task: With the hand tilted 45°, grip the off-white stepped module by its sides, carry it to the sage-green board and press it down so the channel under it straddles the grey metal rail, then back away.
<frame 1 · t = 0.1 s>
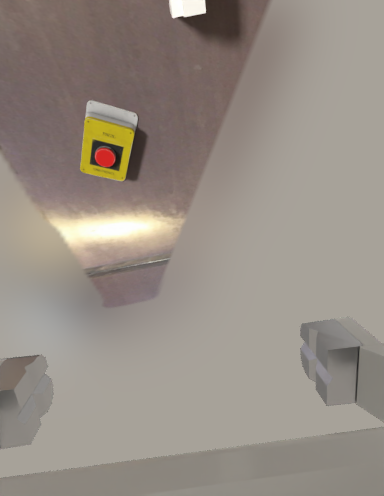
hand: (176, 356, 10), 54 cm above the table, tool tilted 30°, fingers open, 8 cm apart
emergency button: (108, 142, 60), on the table
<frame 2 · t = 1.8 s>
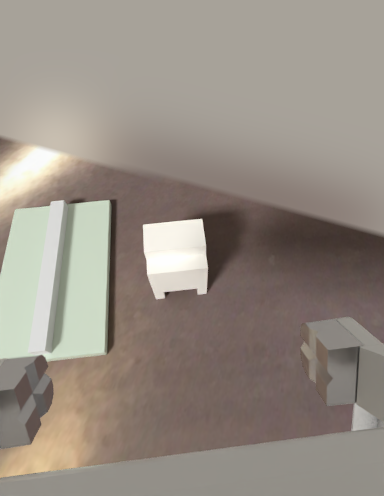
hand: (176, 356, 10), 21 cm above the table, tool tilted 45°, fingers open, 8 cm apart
rail board: (57, 275, 35), on the table
module: (179, 277, 34), on the table
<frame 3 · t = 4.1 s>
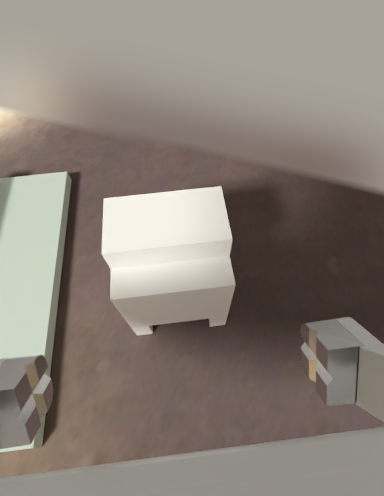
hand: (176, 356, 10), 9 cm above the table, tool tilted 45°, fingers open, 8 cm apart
module: (178, 296, 20), on the table
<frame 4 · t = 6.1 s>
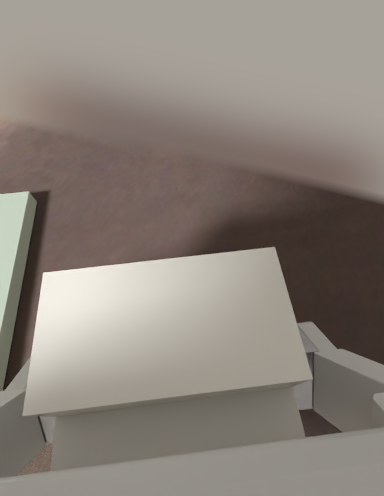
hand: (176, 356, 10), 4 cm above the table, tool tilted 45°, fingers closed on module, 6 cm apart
module: (185, 390, 13), on the table, touching gripper
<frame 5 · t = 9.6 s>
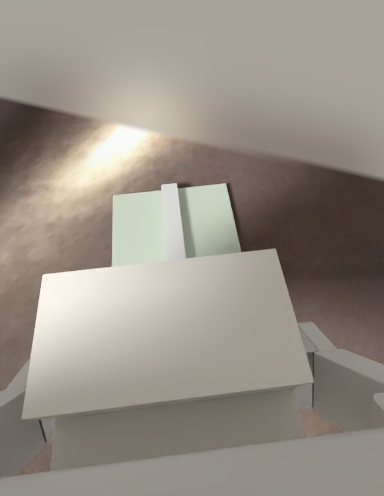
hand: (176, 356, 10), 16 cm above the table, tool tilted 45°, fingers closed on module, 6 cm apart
rail board: (178, 274, 28), on the table
module: (185, 391, 13), point 11 cm above the table, touching gripper
when the fingers open (5 cm above the table, at t = 13.1 s): module stays where it is, resting on rail board.
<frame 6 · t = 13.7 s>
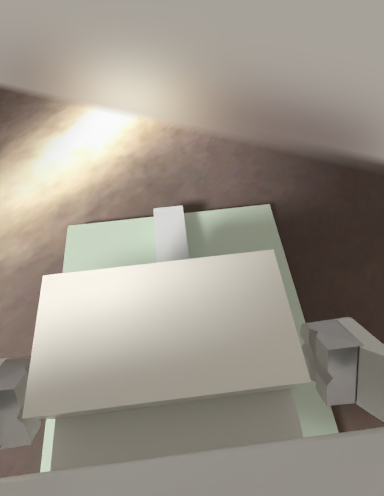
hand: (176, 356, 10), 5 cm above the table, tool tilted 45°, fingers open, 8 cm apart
rail board: (187, 392, 14), on the table
module: (185, 391, 13), point 1 cm above the table, touching rail board
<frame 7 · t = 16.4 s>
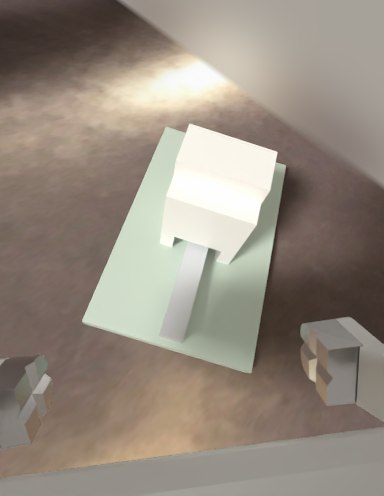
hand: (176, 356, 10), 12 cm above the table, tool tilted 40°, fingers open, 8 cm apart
rail board: (199, 235, 25), on the table
module: (201, 229, 24), point 1 cm above the table, touching rail board
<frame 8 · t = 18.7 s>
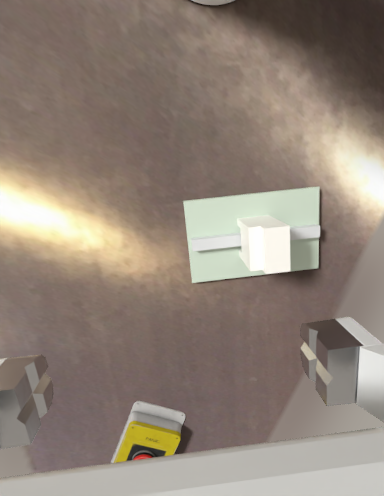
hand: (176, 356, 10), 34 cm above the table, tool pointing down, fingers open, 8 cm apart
rail board: (252, 234, 44), on the table
emergency button: (147, 436, 53), on the table
module: (253, 236, 43), point 1 cm above the table, touching rail board
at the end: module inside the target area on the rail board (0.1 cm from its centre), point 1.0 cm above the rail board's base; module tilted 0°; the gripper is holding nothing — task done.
